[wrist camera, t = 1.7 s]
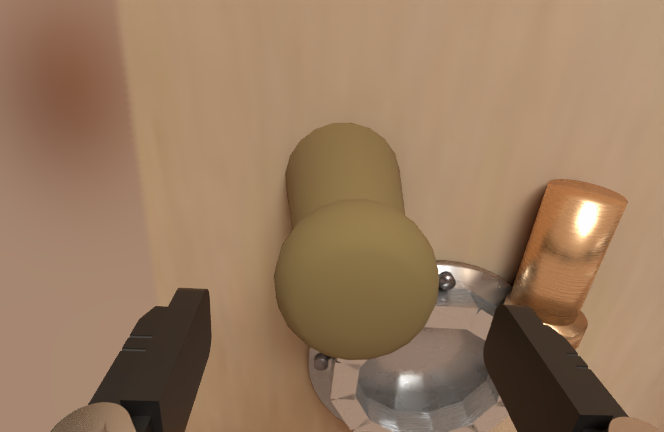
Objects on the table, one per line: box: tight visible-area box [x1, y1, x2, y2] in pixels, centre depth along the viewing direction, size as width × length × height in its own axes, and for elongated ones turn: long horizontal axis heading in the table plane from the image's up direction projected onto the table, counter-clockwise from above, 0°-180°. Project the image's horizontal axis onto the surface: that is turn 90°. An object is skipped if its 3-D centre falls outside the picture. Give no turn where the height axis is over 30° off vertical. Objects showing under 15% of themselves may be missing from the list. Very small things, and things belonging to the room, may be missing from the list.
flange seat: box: [309, 260, 513, 432], centre depth 26 cm, size 15×15×2 cm
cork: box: [274, 123, 439, 360], centre depth 16 cm, size 6×6×11 cm
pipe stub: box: [504, 179, 628, 349], centre depth 21 cm, size 8×4×4 cm, turn 176°
